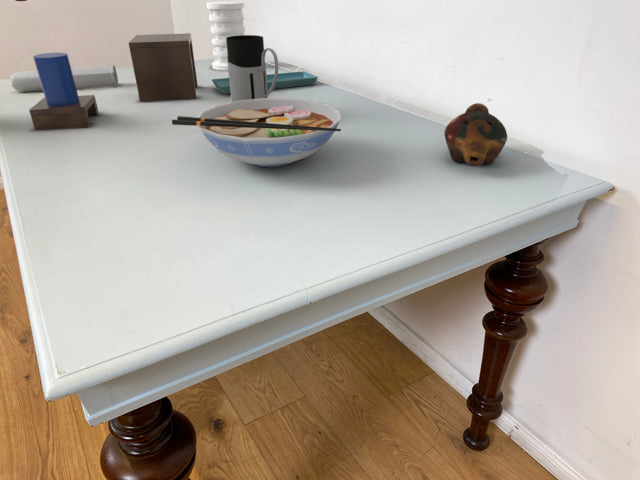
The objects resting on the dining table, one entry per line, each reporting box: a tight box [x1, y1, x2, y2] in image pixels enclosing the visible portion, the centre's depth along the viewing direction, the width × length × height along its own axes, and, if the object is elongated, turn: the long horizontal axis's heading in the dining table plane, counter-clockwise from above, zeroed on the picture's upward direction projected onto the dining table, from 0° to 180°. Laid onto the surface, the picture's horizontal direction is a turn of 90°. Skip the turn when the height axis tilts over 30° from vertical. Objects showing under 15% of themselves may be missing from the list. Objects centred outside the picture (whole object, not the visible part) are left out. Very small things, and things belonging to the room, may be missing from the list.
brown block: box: [128, 32, 199, 103], centre depth 116 cm, size 13×13×13 cm
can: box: [32, 52, 79, 106], centre depth 95 cm, size 6×6×9 cm
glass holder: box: [226, 34, 279, 102], centre depth 99 cm, size 9×14×15 cm, turn 44°
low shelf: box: [29, 94, 100, 131], centre depth 98 cm, size 10×10×4 cm
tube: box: [10, 64, 119, 93], centre depth 124 cm, size 5×5×25 cm
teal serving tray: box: [211, 70, 319, 95], centre depth 124 cm, size 26×9×2 cm, turn 116°
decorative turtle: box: [444, 102, 508, 167], centre depth 77 cm, size 10×15×8 cm, turn 170°
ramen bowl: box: [171, 97, 342, 168], centre depth 77 cm, size 25×23×8 cm
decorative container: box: [205, 0, 246, 72], centre depth 144 cm, size 12×12×18 cm
